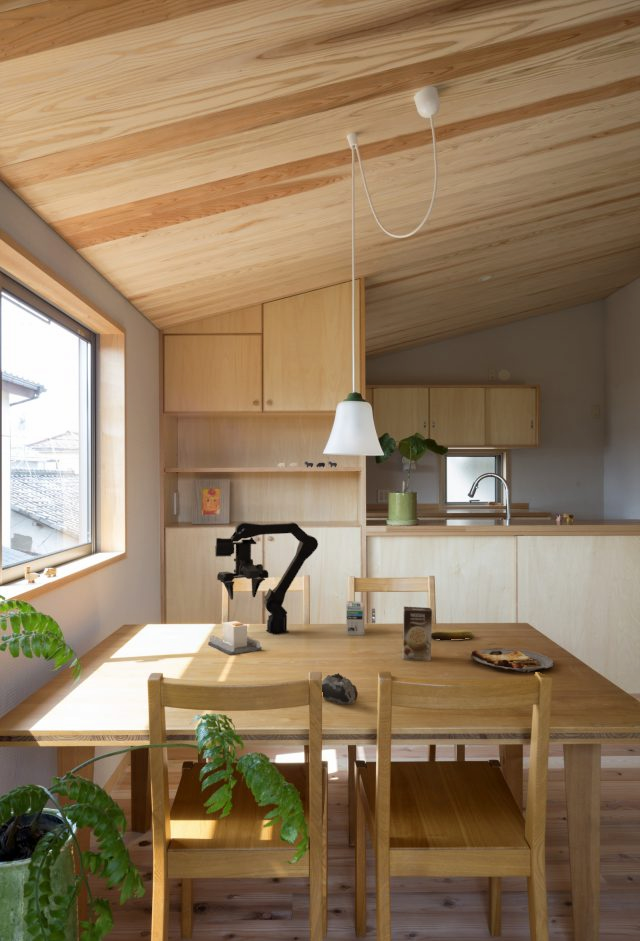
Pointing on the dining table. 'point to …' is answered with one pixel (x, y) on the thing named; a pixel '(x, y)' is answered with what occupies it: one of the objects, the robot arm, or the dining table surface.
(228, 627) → the module block
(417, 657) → the coffee box
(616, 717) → the dining table surface
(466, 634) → the green pickle
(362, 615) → the light bulb box
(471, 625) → the dining table surface
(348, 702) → the dark grey rounded lump
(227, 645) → the rail plate
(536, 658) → the food plate
